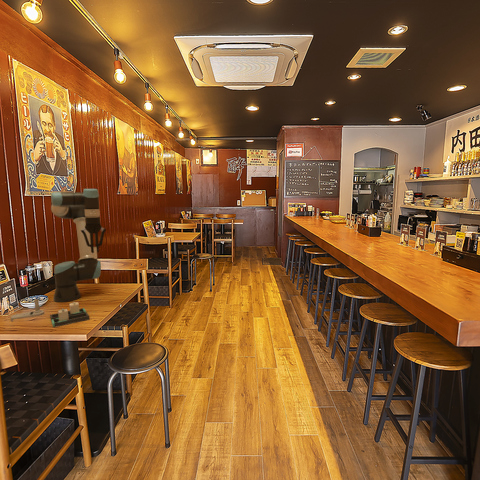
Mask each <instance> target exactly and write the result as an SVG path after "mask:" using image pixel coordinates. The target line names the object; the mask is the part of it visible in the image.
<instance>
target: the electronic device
mask: <svg viewBox="0 0 480 480" xmlns="http://www.w3.org/2000/svg"><path fill="white" fill-rule="evenodd" d="M33 301H34V309H35V310H34V311H27V312H22V313H16V314H12V315H11V316H10V321H11V322H14V320H17V319H18V320H19V319H26V318H32V317H39V316H42V315H44V314H45V311H44V310H42V309H40V308H41V307H40V302H39V298H36V299H34V300H33Z"/></svg>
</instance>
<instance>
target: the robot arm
mask: <svg viewBox="0 0 480 480" xmlns="http://www.w3.org/2000/svg"><path fill="white" fill-rule="evenodd" d="M99 196H100V194H99V190H98V189H97V188H83V191H79V192H77V191H76V192H73V191H72V192H69V191H68V192H67V191H56V192H55V191H54V192H51V194H50V200H51V205H50V206H51V207H50V211H51V213H52V214H53V215H54V216H55V217H57V218H60V219H65V220H72V221H73V223H74V224H75V226H76V227H75V228H76V235H77V242H78V251H79V259H78V260H77V262H75V261H74V260H70V261H63V262H61V263H60V262H59V263H57V264H56V265H54V269H53V270H54V273H53V274H54V279H55V280H54V281H55V282H54V283H55V290H54V294H53V301H54V302H56V303H67V302H74V301H76V300H78V299H80V298H81V295H82V294H81V292H80V289H79V287H78V284H77V282H81V281H88V280H93V279H99V278H100V276H101V270H102V264H101V263H102V262H101V260H99V259H98V253H99V250H100V247H101V246H102V245H103V242H104V237H105V233H106V231H107V229H106V228H104V227H102V224H101V217H100V216H101V214H100V213H101V212H100V198H99ZM99 232H100V236H99ZM94 241H95V243H94ZM94 245H95V246H94Z"/></svg>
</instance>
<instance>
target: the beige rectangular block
mask: <svg viewBox="0 0 480 480" xmlns="http://www.w3.org/2000/svg"><path fill="white" fill-rule="evenodd" d="M68 304H69V311H70V314H73V313H77V312H79V309H80V304H79V302H78V301H77V302H75V301H72V302H71V303H68Z"/></svg>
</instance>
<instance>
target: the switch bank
mask: <svg viewBox="0 0 480 480" xmlns="http://www.w3.org/2000/svg"><path fill="white" fill-rule="evenodd" d="M68 317H69V320H64V321H59V317H58V312H57V313H52V314H49V318H50V321H51V325H52V327H53V328H58V327H60V326H61V327H62V326H66V325H72V324H75V323H78V322H85V321H89V320H90V315H89V314H88V312H87V311H86V309H85V307H82V308H79V312H77V313H73V314H70V310H68Z"/></svg>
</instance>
